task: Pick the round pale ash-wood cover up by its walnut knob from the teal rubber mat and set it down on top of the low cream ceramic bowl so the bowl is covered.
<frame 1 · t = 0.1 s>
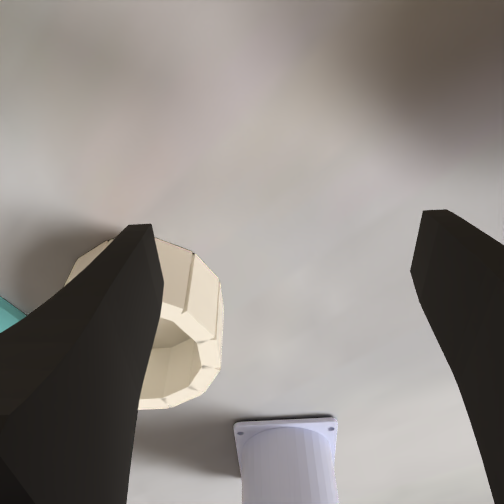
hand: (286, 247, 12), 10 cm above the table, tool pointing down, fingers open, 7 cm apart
mat: (12, 381, 31), on the table
bowl: (147, 299, 27), on the table
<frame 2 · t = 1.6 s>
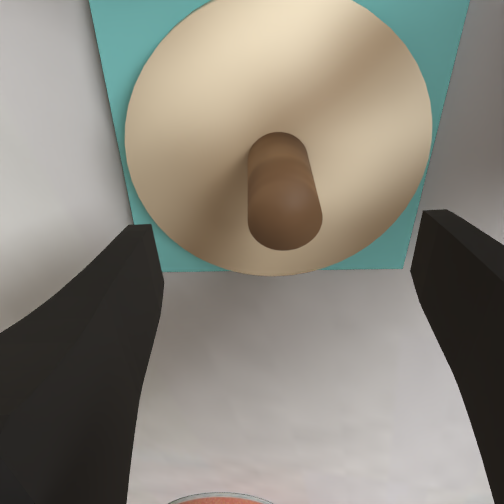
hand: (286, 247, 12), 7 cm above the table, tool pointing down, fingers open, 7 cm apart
mat: (275, 143, 18), on the table
cover: (276, 149, 17), point 1 cm above the table, touching mat
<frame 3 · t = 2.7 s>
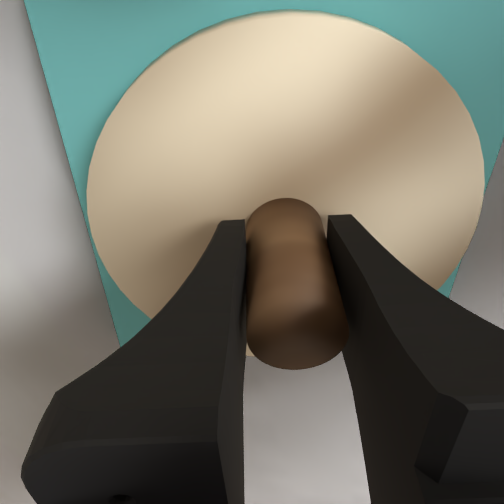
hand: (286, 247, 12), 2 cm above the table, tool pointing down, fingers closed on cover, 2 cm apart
mat: (280, 202, 14), on the table
cover: (281, 212, 14), point 1 cm above the table, touching gripper, mat
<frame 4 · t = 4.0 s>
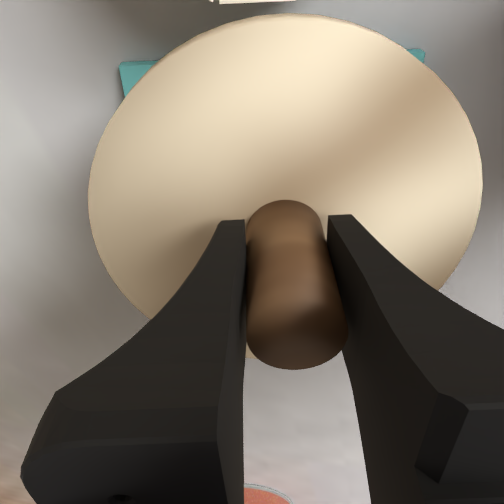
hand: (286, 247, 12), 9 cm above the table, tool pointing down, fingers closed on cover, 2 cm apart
mat: (272, 187, 22), on the table
cover: (281, 214, 14), point 7 cm above the table, touching gripper
when the fingers open (7 cm above the table, at t = 5.1 s): cover stays where it is, resting on bowl.
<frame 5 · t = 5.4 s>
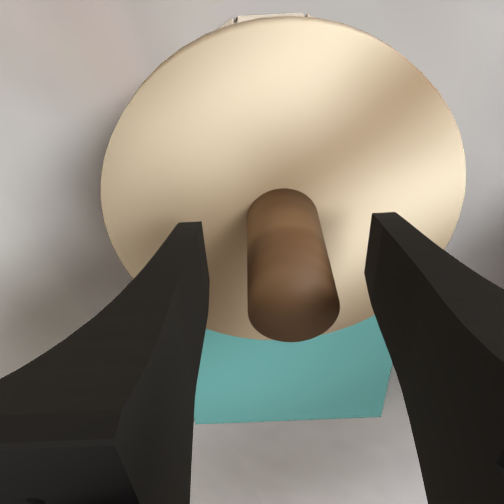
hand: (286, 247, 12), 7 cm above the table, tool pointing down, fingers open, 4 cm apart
mat: (287, 352, 26), on the table
bowl: (272, 138, 18), on the table
cover: (280, 203, 15), point 4 cm above the table, touching bowl
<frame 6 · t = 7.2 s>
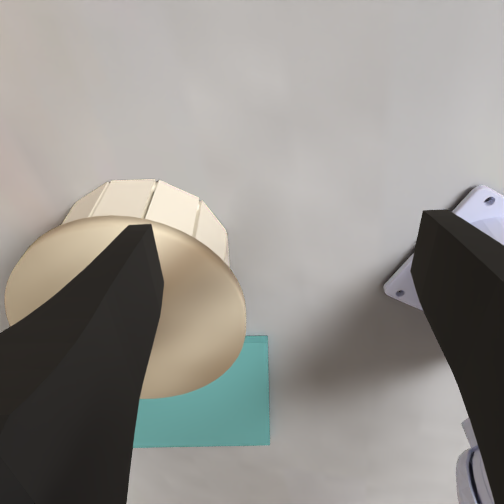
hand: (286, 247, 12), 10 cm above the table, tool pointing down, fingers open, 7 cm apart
mat: (186, 394, 33), on the table
bowl: (148, 251, 25), on the table
cover: (132, 312, 22), point 4 cm above the table, touching bowl
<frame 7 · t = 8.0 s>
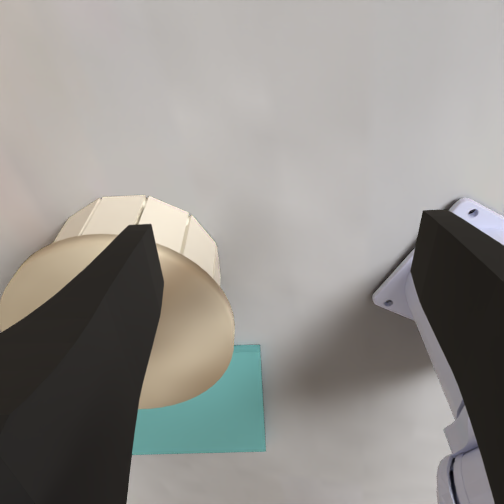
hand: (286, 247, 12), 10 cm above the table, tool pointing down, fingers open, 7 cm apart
mat: (182, 402, 33), on the table
bowl: (141, 264, 26), on the table
cover: (124, 325, 22), point 4 cm above the table, touching bowl
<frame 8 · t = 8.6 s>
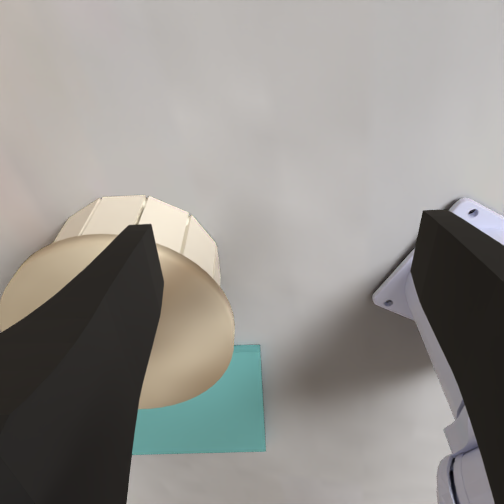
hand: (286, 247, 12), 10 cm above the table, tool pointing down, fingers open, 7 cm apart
mat: (182, 402, 33), on the table
bowl: (141, 264, 26), on the table
cover: (124, 325, 22), point 4 cm above the table, touching bowl
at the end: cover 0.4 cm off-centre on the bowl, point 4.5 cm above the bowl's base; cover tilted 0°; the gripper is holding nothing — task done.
